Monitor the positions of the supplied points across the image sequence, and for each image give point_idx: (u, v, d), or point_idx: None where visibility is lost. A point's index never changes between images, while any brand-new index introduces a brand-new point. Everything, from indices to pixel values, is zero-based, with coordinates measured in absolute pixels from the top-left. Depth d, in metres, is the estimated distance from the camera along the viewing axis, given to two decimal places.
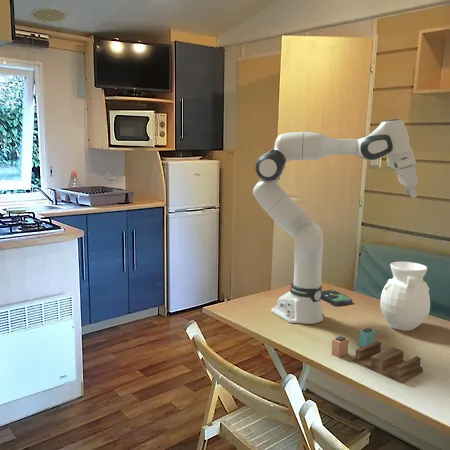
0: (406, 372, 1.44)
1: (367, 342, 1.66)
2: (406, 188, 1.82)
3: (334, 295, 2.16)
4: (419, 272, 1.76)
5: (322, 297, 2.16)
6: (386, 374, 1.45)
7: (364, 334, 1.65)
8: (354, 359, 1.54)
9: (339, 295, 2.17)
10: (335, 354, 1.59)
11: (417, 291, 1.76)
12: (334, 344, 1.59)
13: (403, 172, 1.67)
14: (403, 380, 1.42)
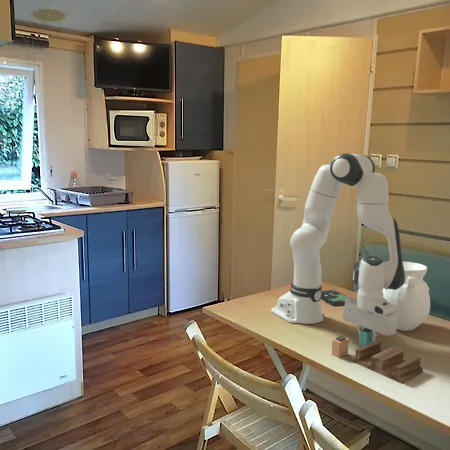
0: (406, 372, 1.44)
1: (367, 342, 1.66)
2: (360, 330, 1.69)
3: (334, 295, 2.16)
4: (419, 272, 1.76)
5: (321, 297, 2.16)
6: (386, 374, 1.45)
7: (364, 334, 1.65)
8: (354, 359, 1.54)
9: (339, 295, 2.16)
10: (335, 354, 1.59)
11: (417, 291, 1.76)
12: (334, 344, 1.59)
13: (389, 320, 1.58)
14: (403, 380, 1.42)
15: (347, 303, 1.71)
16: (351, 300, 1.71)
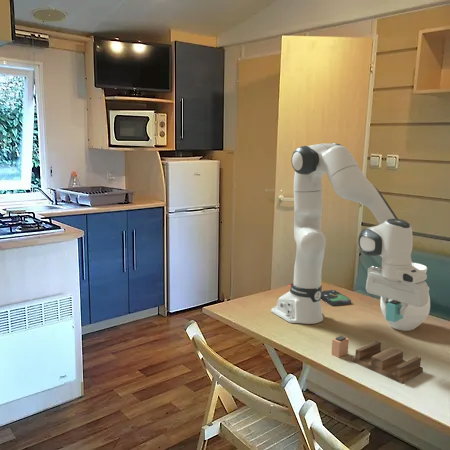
0: (406, 372, 1.44)
1: (395, 316, 1.48)
2: (386, 302, 1.51)
3: (333, 295, 2.16)
4: None
5: (321, 297, 2.16)
6: (386, 374, 1.45)
7: (392, 306, 1.47)
8: (354, 359, 1.54)
9: (338, 295, 2.16)
10: (335, 354, 1.59)
11: None
12: (334, 344, 1.59)
13: (420, 289, 1.40)
14: (403, 380, 1.42)
15: (370, 273, 1.53)
16: (375, 270, 1.53)
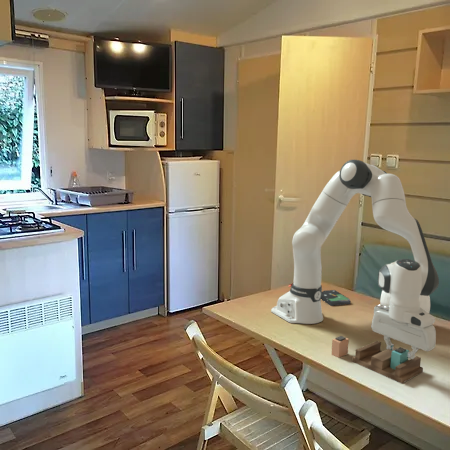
0: (406, 372, 1.44)
1: None
2: (388, 341, 1.50)
3: (333, 295, 2.16)
4: None
5: (321, 296, 2.17)
6: (386, 374, 1.45)
7: (397, 355, 1.46)
8: (354, 359, 1.54)
9: (338, 295, 2.16)
10: (335, 354, 1.59)
11: None
12: (334, 344, 1.59)
13: (428, 333, 1.37)
14: (403, 380, 1.42)
15: (377, 312, 1.51)
16: (381, 309, 1.51)
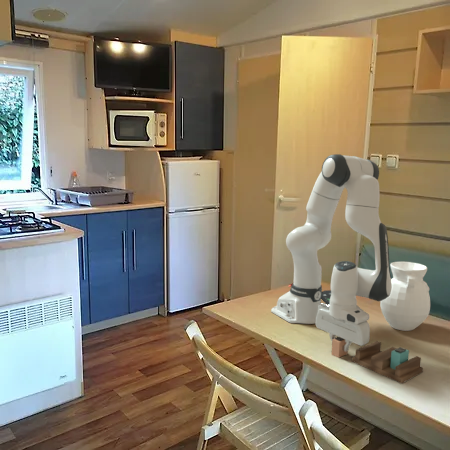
0: (406, 372, 1.44)
1: None
2: (333, 338, 1.62)
3: None
4: (419, 272, 1.76)
5: None
6: (386, 374, 1.45)
7: (397, 355, 1.46)
8: (354, 359, 1.54)
9: None
10: (335, 354, 1.59)
11: (417, 291, 1.76)
12: (334, 344, 1.59)
13: (361, 329, 1.50)
14: (403, 380, 1.42)
15: (320, 310, 1.63)
16: (324, 307, 1.63)
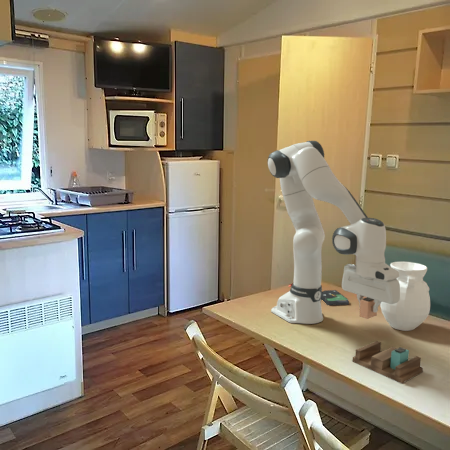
0: (406, 372, 1.44)
1: None
2: None
3: (332, 295, 2.16)
4: (419, 272, 1.76)
5: None
6: (386, 374, 1.45)
7: (397, 355, 1.46)
8: (354, 359, 1.54)
9: (338, 295, 2.16)
10: (363, 315, 1.52)
11: (417, 291, 1.76)
12: (362, 305, 1.51)
13: (391, 286, 1.43)
14: (403, 380, 1.42)
15: (346, 271, 1.56)
16: (350, 268, 1.56)
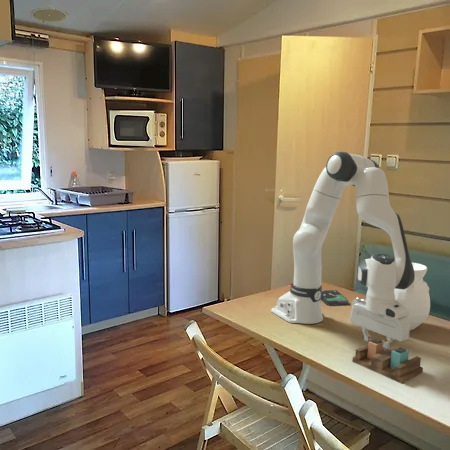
0: (406, 372, 1.44)
1: None
2: (366, 333, 1.57)
3: (332, 295, 2.16)
4: (419, 272, 1.76)
5: None
6: (386, 374, 1.45)
7: (397, 355, 1.46)
8: (354, 359, 1.54)
9: (337, 295, 2.16)
10: None
11: (417, 291, 1.76)
12: (370, 347, 1.53)
13: (402, 324, 1.44)
14: (403, 380, 1.42)
15: (355, 305, 1.57)
16: (359, 302, 1.58)
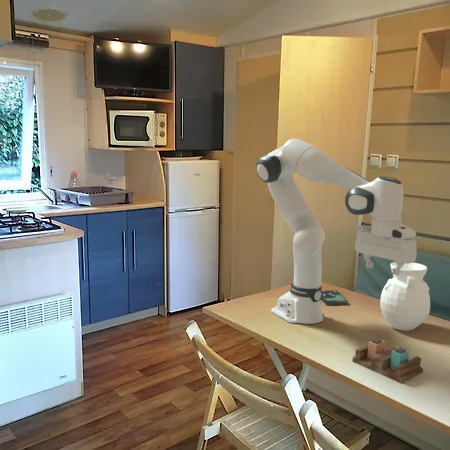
0: (406, 372, 1.44)
1: None
2: (368, 259, 1.53)
3: (332, 295, 2.16)
4: (419, 272, 1.76)
5: None
6: (386, 374, 1.45)
7: (397, 355, 1.46)
8: (354, 359, 1.54)
9: (337, 296, 2.16)
10: None
11: (417, 291, 1.76)
12: (370, 347, 1.53)
13: (409, 245, 1.40)
14: (403, 380, 1.42)
15: (360, 232, 1.53)
16: (364, 229, 1.53)
